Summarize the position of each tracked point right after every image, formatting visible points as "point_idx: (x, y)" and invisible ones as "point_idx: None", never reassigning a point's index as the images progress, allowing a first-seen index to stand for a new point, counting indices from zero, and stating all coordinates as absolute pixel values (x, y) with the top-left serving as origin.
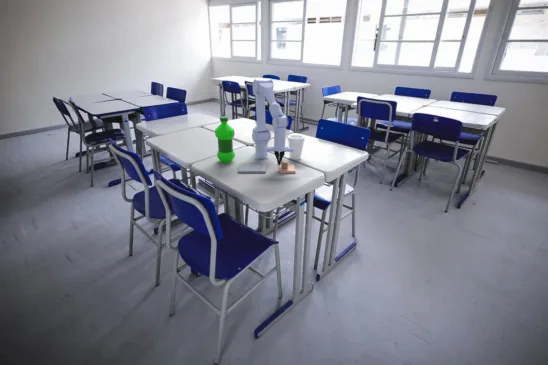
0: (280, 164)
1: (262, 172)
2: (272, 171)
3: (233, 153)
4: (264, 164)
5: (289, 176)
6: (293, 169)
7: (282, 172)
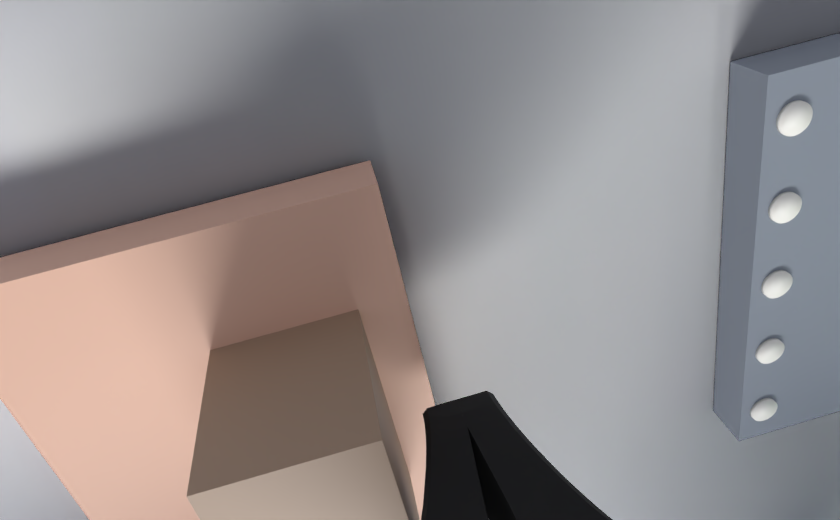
0: None
1: (817, 48)
2: (564, 223)
3: None
4: (756, 418)
5: (49, 24)
6: (38, 376)
7: (310, 184)
